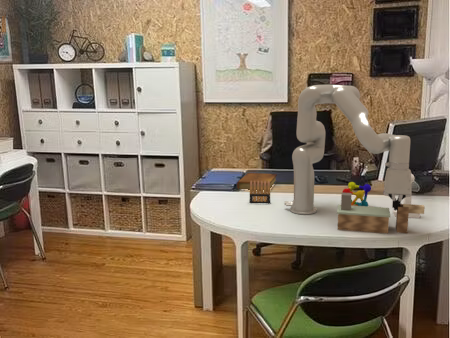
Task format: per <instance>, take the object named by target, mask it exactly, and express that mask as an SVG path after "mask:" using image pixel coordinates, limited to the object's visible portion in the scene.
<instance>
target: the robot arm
mask: <svg viewBox="0 0 450 338" xmlns="http://www.w3.org/2000/svg"><path fill="white" fill-rule="evenodd" d="M297 99H298V100H297V118H296V120H297V121H296V138H297V140H298V141H299V142H300V143H304V144H303V145H299V146H297V147H296V148H294V150H293V152H292V155H291V159H292V165H293V199H292V200H291V201H289V200H288V201H284V203H283V204H284V206H286V207H289V208H290V209H289V210H290V212H291V213H293V214H297V215H313V214H316V213H317V211H318V209H317V207H316V206H314V204H315V170H314V167H313V164H317V163H319V162H320V161H321V160H322V159H323V158H324V155H325V154H324V153H325V145H326V129H325V125H324V124H323V123H322V122H321V121H318V120H317V114H318V112H317V109H316V108H317V107H316V106H317V105H324V104H333V105H334V104H335V105H336V106H337V107H338V109H339V110H340V111H341V112H342V113H343V115H344V116H345V117H346V118H347V120H348V122H350V124H351V126H352V130H353V133H354V134H355V138H356V139H357V140H358V142H360V144H361V145H362V146H363V147H364V149H365V150H367V152H369V153H371V154H374V155H378V154H381V153H384V152H389V157H388V162H385V164H384V166H385V167H388V168H387V169H386V171H385V177H384V186H383V188H384V189H383V193H382V194H383V195H384V196H386V197H389V198H390V199H391V200H392V202H391V203H392V205H391V206H392V208H393V210H395V211H396V210H397V211H398V207H400V204H402V203H401V202H402V201H404V198H405V197H410V196H411V197H412V185H411V174H412V170H411V169H410V168H409V167H410V155H411V154H410V151H411V138H410V136H408V135H405V134H404V135H402V134H397V135H396V134H391V133H386V132H382V133H378V134H377V132H376V131H375V130H374V129H373V128H372V126H371V125H370V122H369V119H368V118H369V110H368V109H367V107H366V106H365V104H363V103H362V101H361V100H360V99H361V92H360V90H359V89H358V88H357V87H356V86H354V85H341V84H340V85H339V84H314V85H310V86H308V87H306V88H304V89H303V90H302V91H301V93H300V94H299V96H298V98H297ZM396 195H398V196H397V198H396Z"/></svg>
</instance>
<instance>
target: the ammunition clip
mask: <svg viewBox="0 0 450 338" xmlns="http://www.w3.org/2000/svg"><path fill="white" fill-rule="evenodd" d="M249 203H270V204H271V191H270V182H269V181H268V184H267V188H266V181H265V182H264V192H263V182H262V181H261V186H259V181H258V182H257V191H256V182H255V181H254V186H253V187H252V181H251V182H250V191H249Z"/></svg>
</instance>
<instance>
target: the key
mask: <svg viewBox="0 0 450 338" xmlns="http://www.w3.org/2000/svg"><path fill="white" fill-rule="evenodd" d="M402 204H403V203H402ZM403 207H409V213H416V214H420V215H424V214H425V209H426V208H425V205H424V204H414V203H413V204H412V203H411V204H403Z"/></svg>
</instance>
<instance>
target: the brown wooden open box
mask: <svg viewBox="0 0 450 338" xmlns="http://www.w3.org/2000/svg"><path fill="white" fill-rule="evenodd" d="M408 214H409V207H403V203H401V204H400V207H398V211H397V217H395V218H396V219H395V220H396V222H395V230H396V233H398V234H399V233H400V234H408V228H409V227H408V226H409V218H408V216H409V215H408ZM389 222H390V217H376V216H361V215H346V214H337V230H339V231H341V230H342V231H350V232H351V231H352V232H353V231H354V232H365V233H376V234H377V233H379V234H389V224H390V223H389Z"/></svg>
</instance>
